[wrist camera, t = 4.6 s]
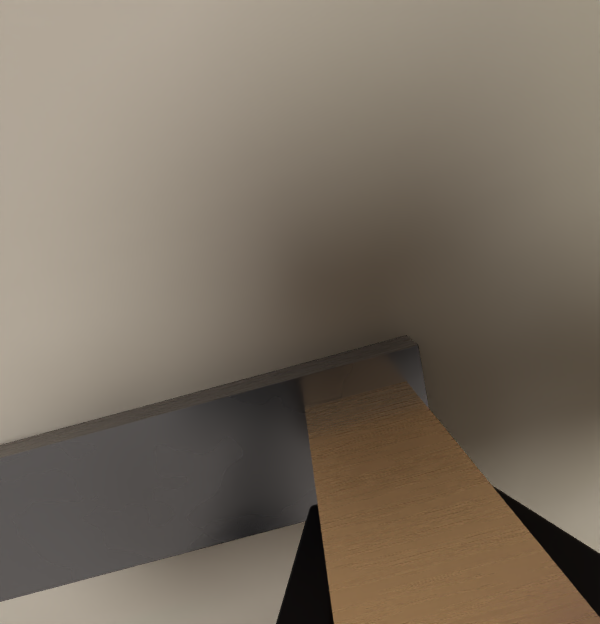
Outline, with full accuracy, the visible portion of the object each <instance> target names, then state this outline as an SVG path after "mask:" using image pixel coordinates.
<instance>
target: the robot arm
mask: <svg viewBox="0 0 600 624" xmlns="http://www.w3.org/2000/svg"><path fill="white" fill-rule="evenodd" d="M493 488H494V489H495V490H496V491H497V493H498V494H499V495H500V496H501V497H502V499H503V500H504V501H505V502H506V504H507V505H508V506H509V507H510V508H511V510H512V511H513V512H514V513H515V515H516V516H517V517H518V518H519V519H520V521H521V522H522V523H523V524H524V526H525V527H526V528H527V529H528V530H529V532H530V533H531V534H532V535H533V537H534V538H535V539H536V540H537V541H538V543H539V544H540V545H541V546H542V548H543V549H544V550H545V551H546V552H547V554H548V555H549V556H550V557H551V559H552V560H553V561H554V562H555V563H556V565H557V566H558V567H559V568H560V570H561V571H562V572H563V573H564V574H565V576H566V577H567V578H568V579H569V581H570V582H571V583H572V584H573V585H574V587H575V588H576V589H577V590H578V592H579V593H580V594H581V595H582V596H583V598H584V599H585V600H586V601H587V603H588V604H589V605H590V606H591V607H592V609H593V610H594V611H595V612H596V614H597V615H598V616H599V617H600V553H598V552H597V551H595V550H593V549H592V548H590V547H589V546H587V545H585V544H584V543H582V542H581V541H579V540H578V539H576V538H574V537H573V536H571V535H570V534H568V533H566V532H565V531H563V530H562V529H560V528H559V527H557V526H555V525H554V524H552V523H551V522H549V521H547V520H546V519H544V518H543V517H541V516H540V515H538V514H536V513H535V512H533V511H532V510H530V509H529V508H527V507H525V506H524V505H522V504H521V503H519V502H517V501H516V500H514V499H513V498H511V497H510V496H508V495H506V494H505V493H503V492H502V491H500V490H498V489H497V488H495V487H494V486H493ZM276 624H334V621H333V613H332V606H331V598H330V591H329V584H328V576H327V569H326V561H325V554H324V547H323V539H322V532H321V524H320V517H319V510H318V504H315V505H312V506H311V507H310V509H309V512H308V515H307V519H306V522H305V526H304V529H303V533H302V536H301V540H300V543H299V546H298V550H297V553H296V557H295V560H294V564H293V567H292V571H291V574H290V578H289V581H288V584H287V588H286V591H285V595H284V598H283V602H282V605H281V609H280V612H279V616H278V619H277V622H276Z"/></svg>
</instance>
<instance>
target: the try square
mask: <svg viewBox="0 0 600 624" xmlns="http://www.w3.org/2000/svg"><path fill="white" fill-rule="evenodd" d="M315 504H318V510H319V517H320V524H321V532H322V539H323V547H324V554H325V561H326V569H327V576H328V584H329V591H330V598H331V606H332V613H333V621H334V624H600V617H599V616H598V615H597V614H596V612H595V611H594V610H593V609H592V607H591V606H590V605H589V604H588V603H587V601H586V600H585V599H584V598H583V596H582V595H581V594H580V593H579V592H578V590H577V589H576V588H575V587H574V585H573V584H572V583H571V582H570V581H569V579H568V578H567V577H566V576H565V574H564V573H563V572H562V571H561V570H560V568H559V567H558V566H557V565H556V563H555V562H554V561H553V560H552V559H551V557H550V556H549V555H548V554H547V552H546V551H545V550H544V549H543V548H542V546H541V545H540V544H539V543H538V541H537V540H536V539H535V538H534V537H533V535H532V534H531V533H530V532H529V530H528V529H527V528H526V527H525V526H524V524H523V523H522V522H521V521H520V519H519V518H518V517H517V516H516V515H515V513H514V512H513V511H512V510H511V508H510V507H509V506H508V505H507V504H506V502H505V501H504V500H503V499H502V497H501V496H500V495H499V494H498V493H497V491H496V490H495V489H494V488H493V486H492V485H491V484H490V483H489V482H488V480H487V479H486V478H485V477H484V475H483V474H482V473H481V472H480V471H479V469H478V468H477V467H476V466H475V464H474V463H473V462H472V461H471V460H470V458H469V457H468V456H467V455H466V453H465V452H464V451H463V450H462V449H461V447H460V446H459V445H458V444H457V442H456V441H455V440H454V439H453V438H452V436H451V435H450V434H449V433H448V431H447V430H446V429H445V428H444V427H443V425H442V424H441V423H440V422H439V420H438V419H437V418H436V417H435V416H434V414H433V413H432V412H431V411H430V409H429V407H428V401H427V395H426V389H425V383H424V377H423V371H422V365H421V359H420V353H419V347H418V345H417V344H416V343H415V342H414V341H413V340H412V339H410V338H409V337H408V336H407V335H406V336H402V337H398V338H395V339H391V340H387V341H384V342H380V343H376V344H373V345H369V346H365V347H361V348H358V349H354V350H350V351H347V352H343V353H339V354H336V355H332V356H328V357H324V358H321V359H317V360H313V361H310V362H306V363H302V364H299V365H295V366H291V367H288V368H284V369H280V370H276V371H273V372H269V373H265V374H262V375H258V376H254V377H251V378H247V379H243V380H239V381H236V382H232V383H228V384H225V385H221V386H217V387H214V388H210V389H206V390H202V391H199V392H195V393H191V394H188V395H184V396H180V397H177V398H173V399H169V400H165V401H162V402H158V403H154V404H151V405H147V406H143V407H140V408H136V409H132V410H128V411H125V412H121V413H117V414H114V415H110V416H106V417H103V418H99V419H95V420H91V421H88V422H84V423H80V424H77V425H73V426H69V427H66V428H62V429H58V430H54V431H51V432H47V433H43V434H40V435H36V436H32V437H29V438H25V439H21V440H17V441H14V442H10V443H6V444H3V445H0V602H1V601H5V600H9V599H13V598H16V597H20V596H24V595H28V594H31V593H35V592H39V591H43V590H47V589H50V588H54V587H58V586H62V585H65V584H69V583H73V582H77V581H81V580H84V579H88V578H92V577H96V576H99V575H103V574H107V573H111V572H115V571H118V570H122V569H126V568H130V567H134V566H137V565H141V564H145V563H149V562H152V561H156V560H160V559H164V558H168V557H171V556H175V555H179V554H183V553H186V552H190V551H194V550H198V549H202V548H205V547H209V546H213V545H217V544H220V543H224V542H228V541H232V540H236V539H239V538H243V537H247V536H251V535H255V534H258V533H262V532H266V531H270V530H273V529H277V528H281V527H285V526H289V525H292V524H296V523H300V522H304V521H306V519H307V515H308V512H309V509H310V507H311V506H312V505H315Z"/></svg>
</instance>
